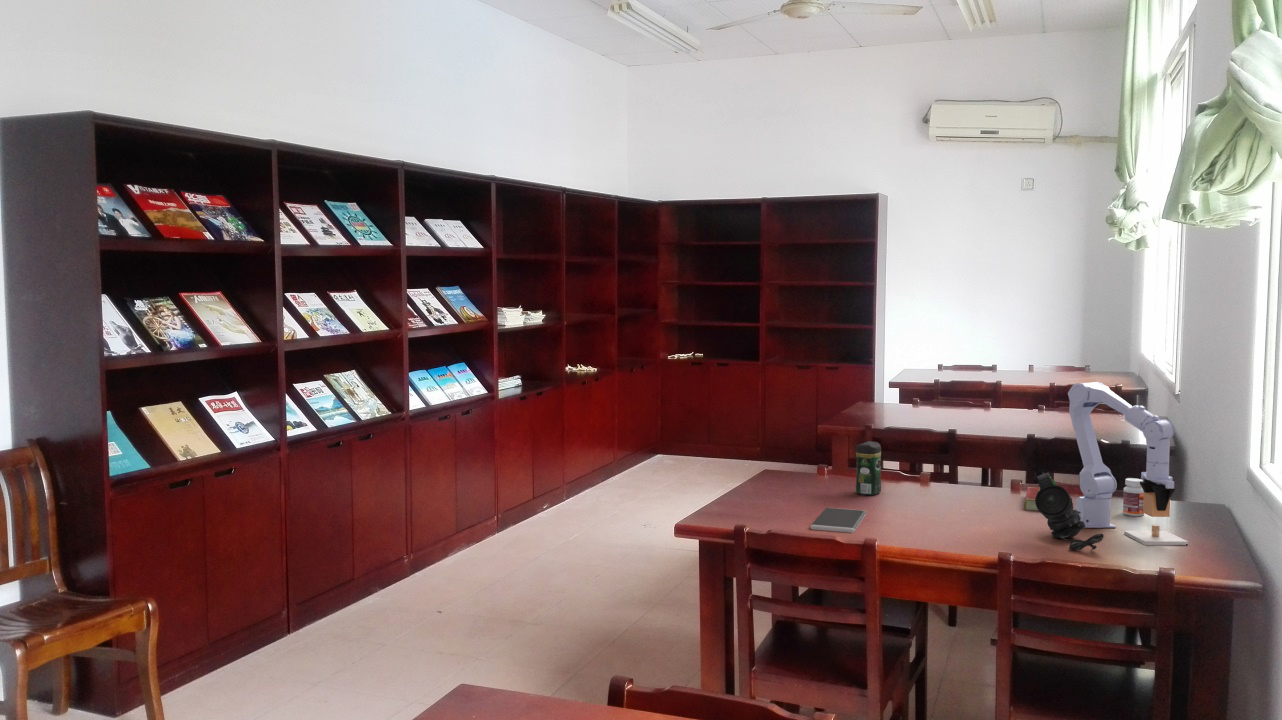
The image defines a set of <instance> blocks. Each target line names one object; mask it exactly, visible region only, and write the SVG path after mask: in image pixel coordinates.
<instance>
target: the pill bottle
mask: <svg viewBox="0 0 1282 720" xmlns="http://www.w3.org/2000/svg"><path fill="white" fill-rule="evenodd" d="M1140 481H1144V479H1141V478H1140V479H1139V478H1134V477H1127V478H1125V482H1124V485H1126V486H1125V487H1123V494H1122V495H1123V498H1122V499H1123V501H1122V504H1123V505H1122V513H1123V514H1124V515H1125V516H1126V515H1127V516H1130V517H1131V516H1132V517H1143V516H1144V515H1145V513H1143V500H1144V491H1143V489H1142V487H1141V485H1140Z"/></svg>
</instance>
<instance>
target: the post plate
mask: <svg viewBox="0 0 1282 720" xmlns="http://www.w3.org/2000/svg"><path fill="white" fill-rule="evenodd" d="M1123 534H1124V535H1125V536H1127V537H1129V538H1131V539H1133V540H1134V541H1136V542H1138V543H1140V544H1143V545H1144V546H1187V545H1186V544H1189V541H1188V540H1186V539H1183V538H1181V537H1180V536H1177V535H1175V534H1173V533H1171V532H1170V531H1167V530H1161V529H1160V525H1157V524H1152V525H1151V530H1124V533H1123Z"/></svg>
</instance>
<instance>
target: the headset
mask: <svg viewBox="0 0 1282 720" xmlns="http://www.w3.org/2000/svg"><path fill="white" fill-rule="evenodd" d="M1036 478H1037V483H1038V485H1039V487H1038V488H1040V490H1039V492H1038V493H1037V495H1036V498H1035V504H1036V507H1037V509H1038V510H1037V511H1038V512H1039V513H1040V514H1041V515H1042V516H1043V517H1044V518H1045V519H1046V520H1047V523H1046V524H1047V525H1048V528H1049V529H1050V531H1051V532H1050V533H1051V535H1052V536H1051V537H1053V538H1054V539H1062V540H1064V541H1067V542H1069V543H1070V545H1069V547H1068V549H1069V550H1071V551H1072V550H1073V551H1075V550H1079V551H1082V550H1083V549H1084V548H1087V547H1090V548H1091V549H1090V551H1093V550H1096V549H1097V547H1098V546H1097V545H1096V544H1098V543H1100V542H1102V541H1103V539H1104V535H1105V534H1103V533H1098V534H1096V533H1095V534H1094V535H1092V536H1090V537H1089V538H1087V539H1084V540H1082V539H1072V538H1074V537H1076V536H1077V535H1078V534H1079V533H1080V532H1081V531H1082V530H1083V529H1086V528H1085V523H1084V522H1083V521H1080V519H1081V517H1080V516H1079V512H1078V511H1077V510H1075V509H1074V503H1073V498H1072V497H1071V496H1070V493H1069V492H1068V491H1067V490H1066V489H1065V488H1064V487H1062V486H1060V485H1058V484H1057V482H1056V481H1055V480H1054V478H1053V476H1052V475H1051V474H1050V473H1049V472H1046V473H1043V474H1040V475H1037V476H1036ZM1094 544H1095V545H1094Z"/></svg>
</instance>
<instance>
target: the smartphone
mask: <svg viewBox="0 0 1282 720" xmlns="http://www.w3.org/2000/svg"><path fill="white" fill-rule="evenodd" d="M866 515H867V511H866V510H863V509H862V510H861V509H849V508H839V507H838V508H835V507H826V508H825V509H824V510H823V511H822V512H821V513H820V515H818V516H817V518H816V519H815V520H814V521H813V522H812V524H811V525H810V526H809V527H810V529H811V530H814V531H815V530H816V531H825V532H839V533H840V532H841V533H850V534H852V533H854V534H855V531H856V530H857V528H858V527H859V526H860V525H861V522H862V521H863V520H864V518H865V516H866Z"/></svg>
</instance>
